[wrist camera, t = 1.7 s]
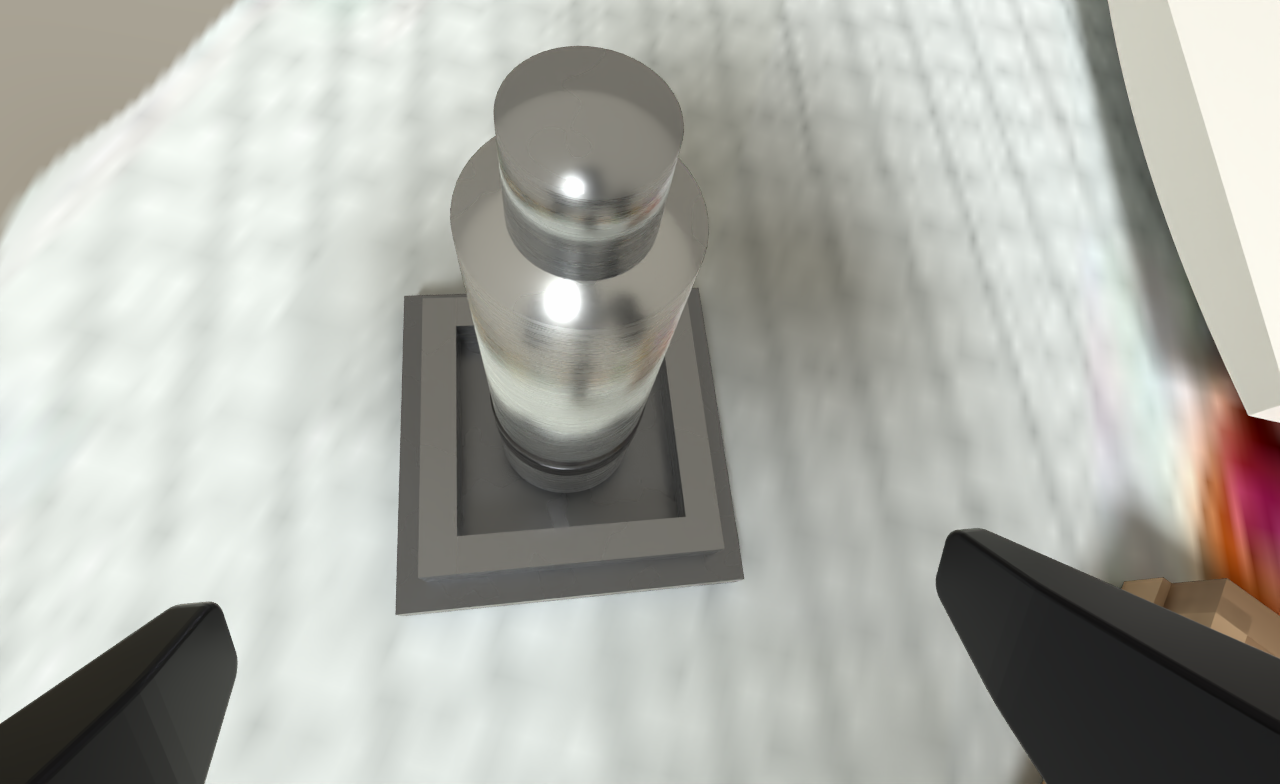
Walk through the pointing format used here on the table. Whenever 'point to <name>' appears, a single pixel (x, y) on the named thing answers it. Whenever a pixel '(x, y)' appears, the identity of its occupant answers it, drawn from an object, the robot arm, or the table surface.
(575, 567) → the socket
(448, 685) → the table surface
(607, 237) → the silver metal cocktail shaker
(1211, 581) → the tray
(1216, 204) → the board
